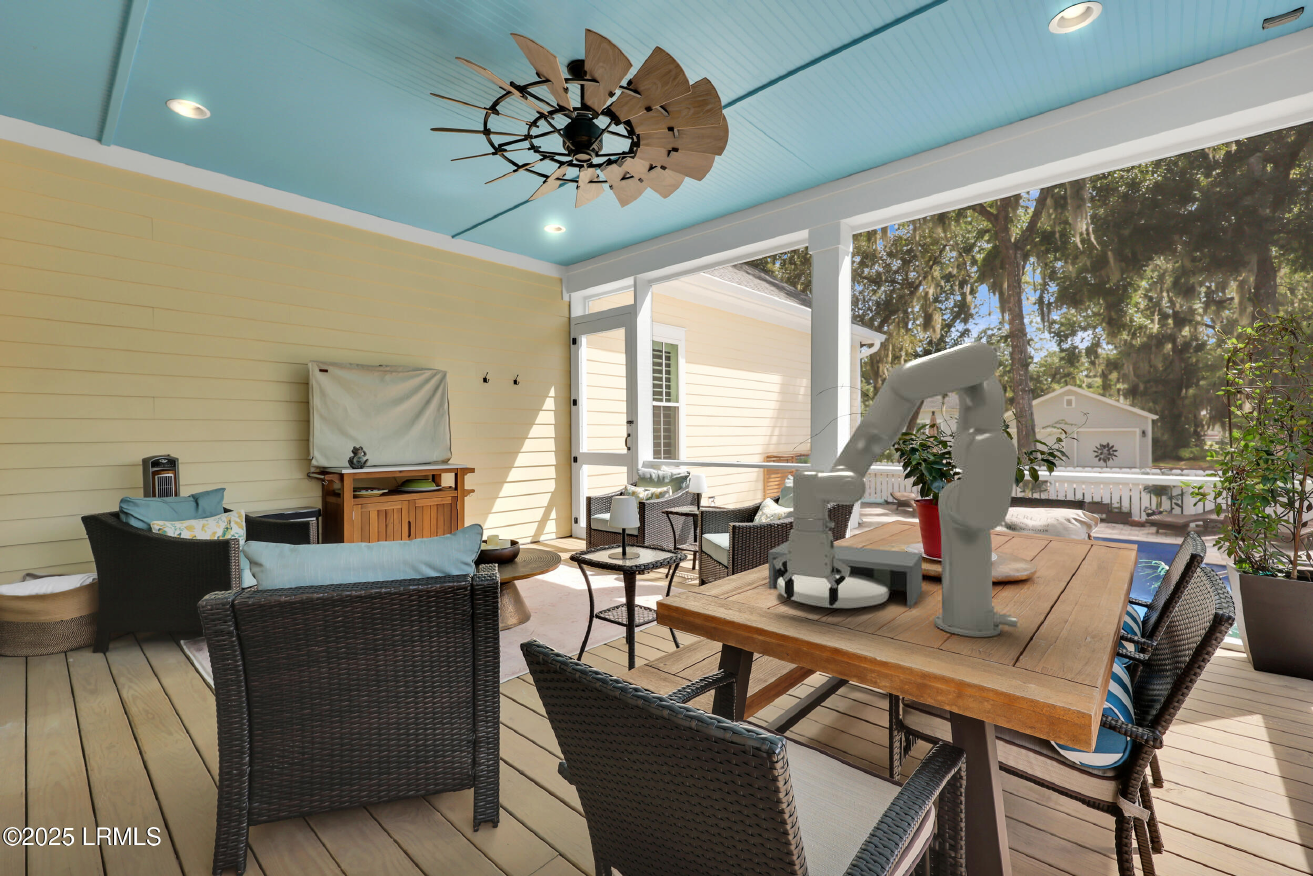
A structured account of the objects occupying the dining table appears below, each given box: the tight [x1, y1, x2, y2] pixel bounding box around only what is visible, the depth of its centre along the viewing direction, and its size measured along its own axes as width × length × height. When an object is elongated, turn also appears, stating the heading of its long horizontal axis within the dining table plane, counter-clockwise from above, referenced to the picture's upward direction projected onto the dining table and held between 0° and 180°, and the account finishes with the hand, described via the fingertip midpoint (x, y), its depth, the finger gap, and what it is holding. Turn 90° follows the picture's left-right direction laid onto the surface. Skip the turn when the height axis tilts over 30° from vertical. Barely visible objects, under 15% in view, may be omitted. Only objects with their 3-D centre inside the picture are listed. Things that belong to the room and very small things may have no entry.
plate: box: [776, 572, 890, 609], centre depth 147 cm, size 28×6×27 cm
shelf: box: [767, 540, 923, 608], centre depth 155 cm, size 36×16×10 cm, turn 58°
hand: (811, 601), depth 131 cm, fingers open, 9 cm apart
